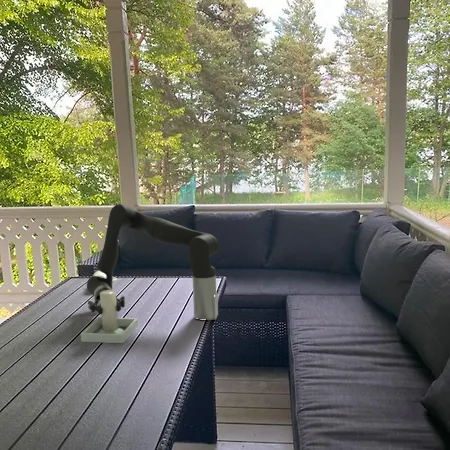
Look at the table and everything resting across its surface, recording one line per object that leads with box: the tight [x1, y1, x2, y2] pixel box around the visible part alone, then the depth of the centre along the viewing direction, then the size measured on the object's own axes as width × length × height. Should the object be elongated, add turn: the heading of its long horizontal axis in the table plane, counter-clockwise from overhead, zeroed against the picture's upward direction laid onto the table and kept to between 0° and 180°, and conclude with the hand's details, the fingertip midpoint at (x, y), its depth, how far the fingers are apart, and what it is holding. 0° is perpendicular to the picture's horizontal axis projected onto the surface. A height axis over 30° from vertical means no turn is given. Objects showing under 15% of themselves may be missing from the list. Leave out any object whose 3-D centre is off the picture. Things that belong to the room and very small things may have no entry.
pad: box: [98, 327, 124, 334], centre depth 163 cm, size 9×9×1 cm
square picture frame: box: [80, 317, 139, 344], centre depth 163 cm, size 16×16×3 cm
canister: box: [100, 289, 119, 332], centre depth 162 cm, size 6×6×14 cm
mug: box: [92, 270, 118, 284], centre depth 220 cm, size 12×10×8 cm
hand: (109, 310), depth 159 cm, fingers closed on canister, 5 cm apart
